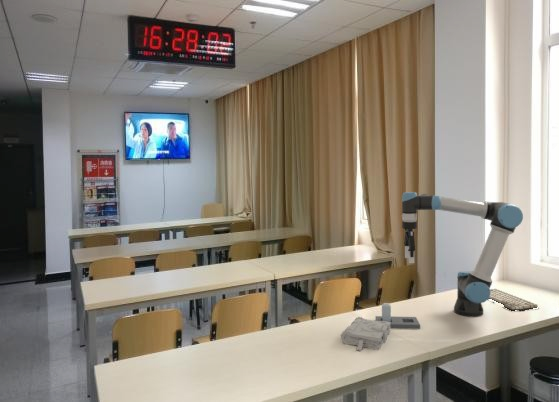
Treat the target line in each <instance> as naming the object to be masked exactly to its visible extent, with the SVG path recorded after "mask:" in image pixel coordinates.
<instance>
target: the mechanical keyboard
mask: <svg viewBox="0 0 559 402" xmlns="http://www.w3.org/2000/svg"><path fill="white" fill-rule="evenodd" d="M489 299H492V300H494V301H496V302H498V303H501V304H503V305H504V307H505V308H507V309H509V310H508V311H510V310H511V311H510V312H512V311H514V312H516V311H515V310H519V311H518V312H526V311H525V310H527V311H530V310H529V309H533V308H537V307H538V308H539V306H538V304H537V303H534V302H532V301H529V300H527V299H524V298H523V297H522V298H521V297H518V296H516V295H513V294H510V293H507V292H505V291H502V290H500V289H497V288H490V297H489ZM505 308H504V309H505ZM507 309H506V310H507Z"/></svg>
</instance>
